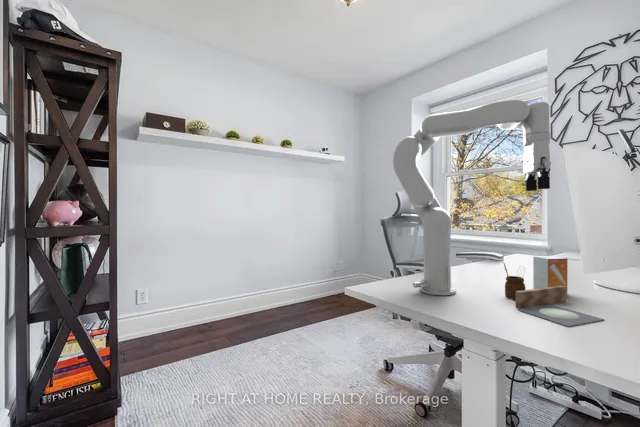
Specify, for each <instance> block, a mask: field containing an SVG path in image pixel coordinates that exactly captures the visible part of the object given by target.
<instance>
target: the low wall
mask: <svg viewBox="0 0 640 427" xmlns="http://www.w3.org/2000/svg"><path fill="white" fill-rule="evenodd" d="M566 302H567V295H566V286H554V287H546V288H538V289H533V288H531V289H530V288H529V289H525V290H522V291H516V300H515V308H517V309H523V308H530V307H536V306H543V305H549V304H552V305H554V304H561V303H566Z"/></svg>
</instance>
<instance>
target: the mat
mask: <svg viewBox="0 0 640 427" xmlns="http://www.w3.org/2000/svg"><path fill="white" fill-rule="evenodd" d="M517 311H519V312H521V313H525V314H528V315H529V316H530V315H531V316H534V317H536V318H540V319H543V320H546V321H548V322H552V323H554V324H557V325H560V326H563V327H567V328H571V327H577V326H581V325H586V324H592V323H597V322H599V323H600V322H603V321H605V319H604V318H601V317H598V316H595V315H591V314H586V313H584V312H583V313H582V312H580V311H576V310H572V309H569V308H566V307H563V306H559V305H554V304H549V305H542V306H535V307H529V308H522V309H519V308H517Z"/></svg>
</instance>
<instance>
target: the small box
mask: <svg viewBox="0 0 640 427" xmlns="http://www.w3.org/2000/svg"><path fill="white" fill-rule="evenodd" d="M532 263H533V264H532V267H533V275H532V276H533V279H532V283H533V288H532V289H538V288H546V287H554V286H566V296H567V295H568V258H567V257H563V256H557V255H556V256H555V255H539V256H533V261H532Z"/></svg>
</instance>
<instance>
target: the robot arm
mask: <svg viewBox="0 0 640 427" xmlns="http://www.w3.org/2000/svg"><path fill="white" fill-rule="evenodd" d="M495 125H496V126H497V127H498V129H500V130H503V131H510V130H516V129H519V128H520V129H521V128H522V130H523V131H522V134H523V136H522V139H523V142H522V143H523V144H522V146H523V147H524V149H523V151H524V152H523V163H522V174H524V175H525V191H527V192H534V191H538V190H549V189H550V187H551V185H550V184H551V183H550V180H551V178H550V176H551V173H550V171H551V164H552V161H551V153H550V152H551V151H550V143H551V106H550V104H549V103H548V102H545V101H538V102H533V103H530V104H528V103H527V102H526V101H524V100H521V99H510V100H504V101H495V102H491V103H490V102H489V103H487V104H483V105H481V106H475V107H472V108H469V109H465V110H457V111H450V112H449V111H448V112H442V113H435V114H434V113H433V114H429V115H426V116H425V118H423V120H422V121H421V124H420V127H419V129H418V131H416V132H415V133H414V134H413V136H411V135H409V136H405V137H404V138H402V139H401V140H400V141H399V142H398V144H397V145H396V148H395V150H394V151H393V156H392V163H393V164H392V165H393V170H394V173H395V175H396V177H397V179H398V181H399V182H400V184H401V186H402V189H404V192H405V193H406V194H407V195H406V196H407V197H408V201H409V202H410V205H411V207H412V208H413V210H414V211H415V213H416V215H417V216H418V217H419V219H420V221H421V223H422V227H423V228H422V229H423V230H422V232H423V233H422V234H423V236H422V237H423V240H422V241H423V243H422V244H423V246H422V248H423V278H421V280H420V281H414V282H413V283H412V286H413V288H419V291H420V290H421V291H420V292H422V293H425V294H427V295H433V296H452V295H455V294H457V289H456V288H454V287H453V286H452V262H451V261H452V259H451V258H452V257H451V256H452V255H451V253H452V251H451V249H452V248H451V234H452V220H451V216H450V214H449V212H448V211H447V210H445V209H444V208H442V206H441V204H440V203H439V201H438V199H437V198H436V196H435V192H434V190H433V188H432V187H431V186H430V184H429V183H428V181H427V180H426V178H425V176H424V175H423V173H422V171H421V170H420V167H419V166H418V164H417V161H418V160H420V159H421V158H422V156H423V155H425V153H427V151H428V150H430V149H431V148H432V146H434V144H435V143H437V141H438V140H439V139H440V138H443V137H452V136H462V135H469V134H471V133H474V132H476V131H478V130H480V129H484V128H486V127H490V126H495ZM537 175H538V177H537ZM536 178H537V179H536Z"/></svg>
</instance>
